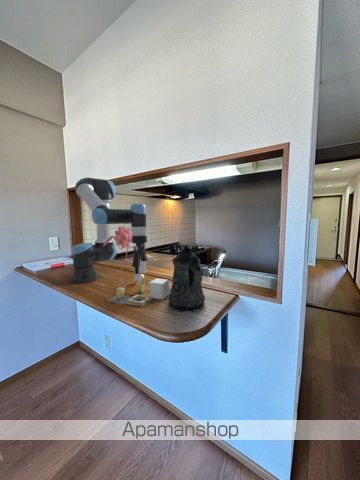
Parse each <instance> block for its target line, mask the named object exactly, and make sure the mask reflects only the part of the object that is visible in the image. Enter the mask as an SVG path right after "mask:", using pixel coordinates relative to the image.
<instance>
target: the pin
mask: <svg viewBox="0 0 360 480" xmlns="http://www.w3.org/2000/svg"><path fill="white" fill-rule="evenodd" d="M140 277H141V280H137V281H136V284H137V290H136V291H137V294H138V295H144V294H145V273H140Z"/></svg>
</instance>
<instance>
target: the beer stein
mask: <svg viewBox="0 0 360 480" xmlns="http://www.w3.org/2000/svg"><path fill="white" fill-rule="evenodd" d="M175 256H176V257H175V258H173V259H172V265H173V273H172V281H171V289H170V291H169V295H168V296H167V299H168V303H169V307H170V308H171V309H173V310H175V311H177V310H178V311H177V312H182V311H191V312H195V311H194V310H196V311H198V310H197V309H199V310H200V308H201V307H202V308H203V307H204V305H205V301H206V296H205V294H204V291H203V287H202V282H203V270H202V267H201V265H200V264H201V259H200V257H198V256H197V254H195V253H194V252H193V250H192V249H181V252H180V253H179V254H177V255H175ZM202 308H201V309H202Z"/></svg>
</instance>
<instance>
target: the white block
mask: <svg viewBox="0 0 360 480" xmlns="http://www.w3.org/2000/svg"><path fill="white" fill-rule="evenodd" d="M169 281H170V280H169V279H166V278H158V277H157V278H154V279H153V280H151V281H149V296H150V297H151V299H157V300H164V299H165V298H166V297H169V294H170V287H169V286H170V282H169Z"/></svg>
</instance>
